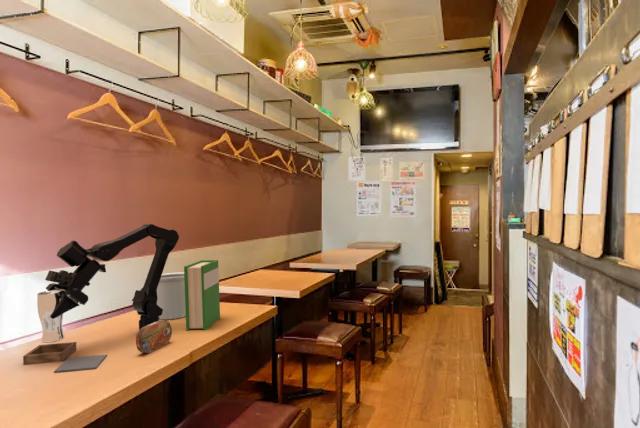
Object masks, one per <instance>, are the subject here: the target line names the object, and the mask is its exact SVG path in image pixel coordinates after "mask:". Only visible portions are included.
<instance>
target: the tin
mask: <svg viewBox="0 0 640 428" xmlns="http://www.w3.org/2000/svg"><path fill="white" fill-rule="evenodd" d="M172 332H173V330H172V325H171V323H170V321H168V319H167V320H164V319H161V320H160V321H156V322H154V323H152V324H149V325H147V326H145V327H142V328H141V329H140V330H139V329H138V331H137V333H136V337H135V344H136V348H137V351H138V352H139V353H142V354H143V353H144V354H151V353H153V352H155V351H157V350H159V349H162V347H165V346H166V345H168V343H170V340H171V338H172Z"/></svg>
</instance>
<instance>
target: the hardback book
mask: <svg viewBox="0 0 640 428" xmlns="http://www.w3.org/2000/svg"><path fill="white" fill-rule="evenodd" d="M183 272H184V281H185V309H186V316H185V329H186V330H185V331H186V332H187V331H190V330H191V329H202V331H203V332H204V331H207V330H208V329H209V328H211V327H212V326H213V325H214V324H215V323H216V322H217V321H219V320H220V319H221V308H220V307H221V306H220V305H221V304H220V303H221V301H220V273H219V259H207V260H205V259H203V260H197V261H195V262H192V263H190V264H187V265H184V266H183Z"/></svg>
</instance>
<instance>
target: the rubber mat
mask: <svg viewBox="0 0 640 428" xmlns="http://www.w3.org/2000/svg"><path fill="white" fill-rule="evenodd" d="M107 357H108V354H98V355H97V354H96V355H89V356H88V355H87V356H74V357H68V358H67V359H65V360H64V361H62V362H63V363H61V364H60V365H59V366H58V367H57V368H56V369H55V370H54V371H53V374H56V373H68V372H78V371H88V370H89V371H90V370H97V368H98V367H99V366H100V365H101V364H102V362H103V361H105V359H106V358H107Z"/></svg>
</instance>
